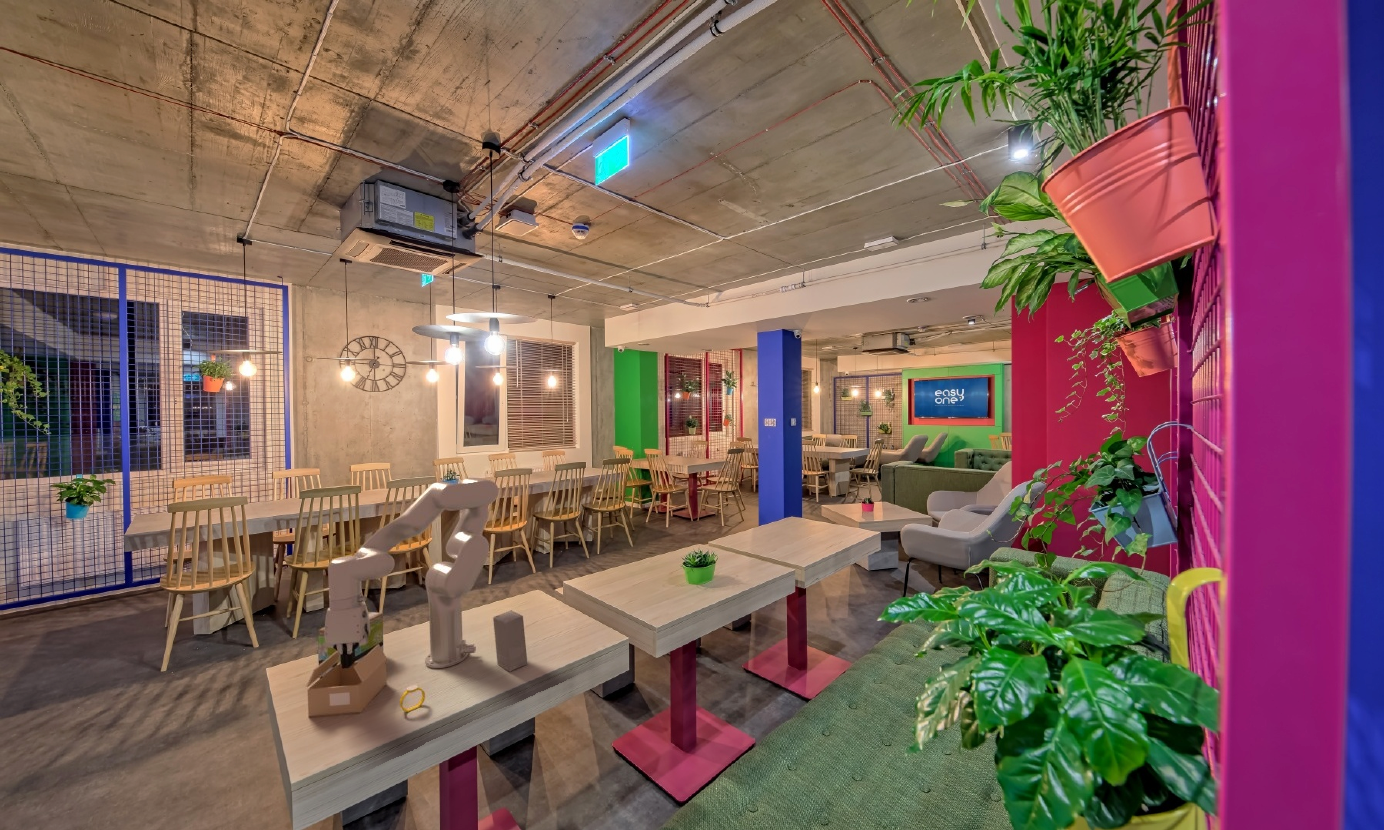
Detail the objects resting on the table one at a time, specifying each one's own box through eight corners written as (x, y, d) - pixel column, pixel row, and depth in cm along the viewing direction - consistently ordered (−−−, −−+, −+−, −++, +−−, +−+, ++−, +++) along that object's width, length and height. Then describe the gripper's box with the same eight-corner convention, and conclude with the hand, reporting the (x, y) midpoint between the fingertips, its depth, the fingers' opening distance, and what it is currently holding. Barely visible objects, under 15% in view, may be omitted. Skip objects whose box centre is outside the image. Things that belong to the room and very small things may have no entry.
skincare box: (527, 664, 157) (526, 615, 156) (506, 673, 151) (504, 622, 151) (515, 655, 162) (513, 608, 162) (493, 664, 157) (492, 615, 157)
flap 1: (343, 647, 145) (341, 646, 145) (315, 669, 133) (314, 668, 133) (336, 662, 145) (334, 662, 145) (307, 686, 133) (306, 686, 133)
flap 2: (385, 659, 146) (386, 658, 146) (362, 682, 134) (363, 681, 134) (377, 644, 146) (378, 644, 146) (353, 666, 134) (354, 665, 134)
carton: (386, 683, 147) (385, 659, 147) (359, 713, 133) (358, 685, 133) (340, 687, 146) (339, 662, 146) (308, 717, 132) (307, 689, 132)
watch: (422, 703, 138) (423, 681, 138) (425, 707, 136) (426, 685, 136) (398, 711, 133) (399, 689, 134) (401, 715, 132) (402, 693, 132)
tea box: (345, 680, 150) (343, 632, 150) (317, 677, 152) (315, 629, 152) (385, 655, 165) (383, 611, 164) (359, 652, 167) (358, 609, 167)
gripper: (380, 594, 144) (383, 657, 144) (325, 598, 142) (328, 661, 142) (366, 605, 136) (369, 670, 136) (308, 608, 135) (311, 675, 135)
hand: (348, 665), depth 139 cm, fingers closed
